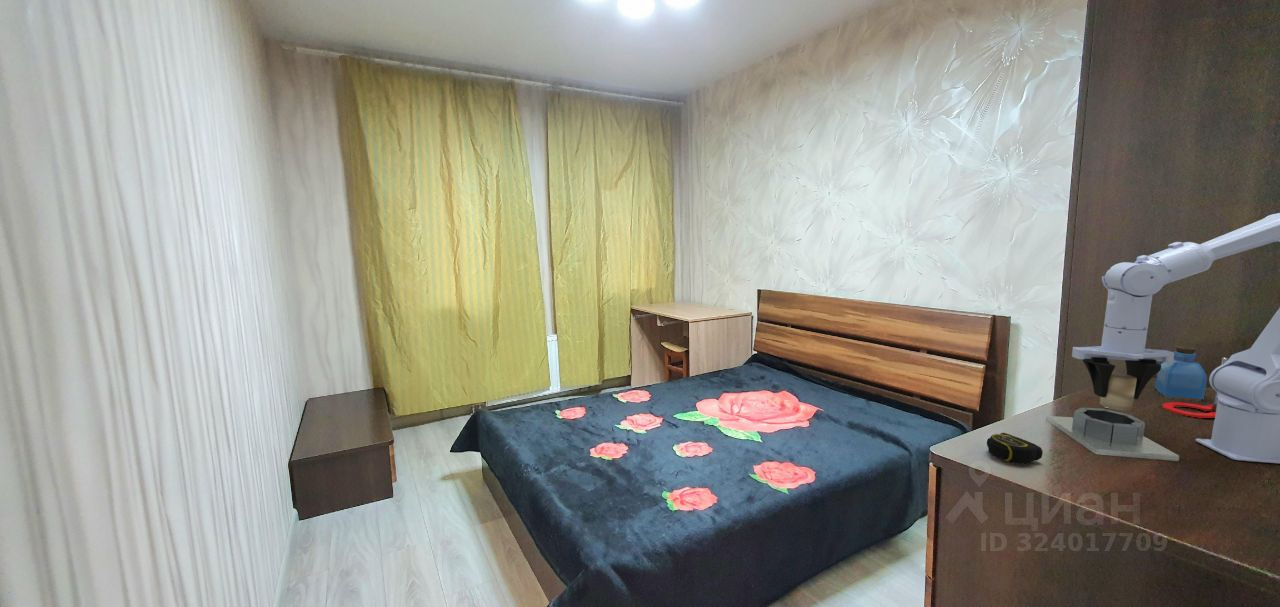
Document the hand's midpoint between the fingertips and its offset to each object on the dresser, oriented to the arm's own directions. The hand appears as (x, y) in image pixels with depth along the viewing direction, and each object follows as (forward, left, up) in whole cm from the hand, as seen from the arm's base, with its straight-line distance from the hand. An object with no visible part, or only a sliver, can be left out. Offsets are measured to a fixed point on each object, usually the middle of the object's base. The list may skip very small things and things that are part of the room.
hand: (1115, 396), depth 90 cm
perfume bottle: (-32, -32, -9) cm, 46 cm away
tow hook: (-27, -20, -9) cm, 34 cm away
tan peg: (0, 0, -2) cm, 2 cm away
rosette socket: (0, -1, -9) cm, 9 cm away
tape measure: (+21, +12, -9) cm, 26 cm away
